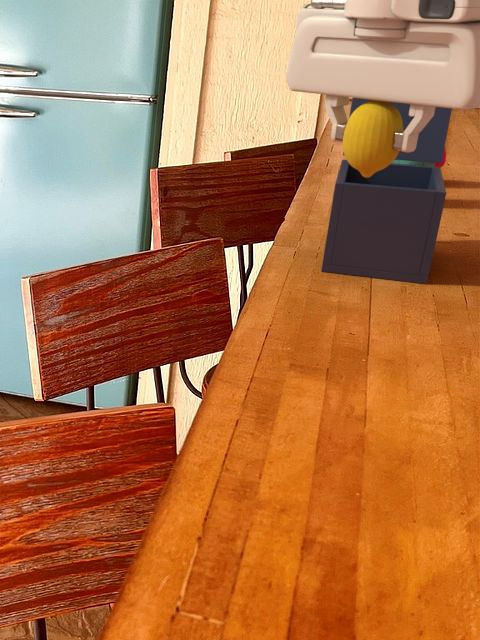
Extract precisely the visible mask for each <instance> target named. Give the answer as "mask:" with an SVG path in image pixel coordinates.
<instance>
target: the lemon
mask: <svg viewBox="0 0 480 640" xmlns="http://www.w3.org/2000/svg"><path fill="white" fill-rule="evenodd" d="M347 120H348V122H347V125H346V128H345V131H344V135H343V143H342V151H343V152H344V155H345V156H344V158H345V160H347V161H348V163H349V164H350V165H351V166H352V167H353V168H355V169H357V170H358V171H359V172H360V173H361V174H362V176H363V177H366V178H368V177H371V176H372V175H373V174H374V173H375V172H377V171H379V170H382V169H384V168H386V167H387V166H389V165H390V164H391V163H392V162H393V161H394V160H395V158H396V157H397V155H398V153H399V151H394V150H393V144H394V143H395V141H394V136H395V133H396V132H401V131H403V123H402V118H401V115H400V113H399V111H398V110H397V109H396V108H395V107H394V106H393V105H392V104H390V103H388V102H386V101H379V100H372V101H369V102H366V103H364V104H362V105H361V106H359V107H358V108H357V109H356V110H355V111H354V112H353V113H352V115H351V116H350V118H349V117H348V119H347ZM343 152H342V153H343Z"/></svg>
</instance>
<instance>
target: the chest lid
mask: <svg viewBox="0 0 480 640" xmlns="http://www.w3.org/2000/svg"><path fill="white" fill-rule="evenodd" d="M351 98H352V97H351ZM369 101H372V100H370V99H361V98H352V99H351V103H350V110H349V115H348V119H349V118H350V116H351V115H352V113H353V112H354V111H355V110H356V109H357V108H358V107H359V106H361V105H362V104H364V103H366V102H369ZM386 102H388V101H386ZM388 103H390V104H392V105H393V106H394V107H395V108H396V109H397V110H398V111H399V113H400V115H401V118H402V123H403V131H405V130H406V128H407V127H408V125H409V124H410V123H411V121H412V120H413V118H414V116H409V110H410V104H406V103H397V102H388ZM452 111H453V109H451V108H442V107H435V112H434V116H433V117H432V118H431V120H430V121H429V122H428V123H427V125H426V126H425V127H424V128H423V130H422V131H421V132H420V133H419V134H418V140H417V145H416V149H415V150H414V151H413V152H409V153H406V152H400V151H399V153H398V155H397V157H396V158H395V160H407V161H420V162H433V163H441V162H442V157H443V152H444V147H445V148H446V141H447V136H448V132H449V126H450V122H451V115H452ZM342 156H343V157H345V155H344V152H342Z"/></svg>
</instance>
